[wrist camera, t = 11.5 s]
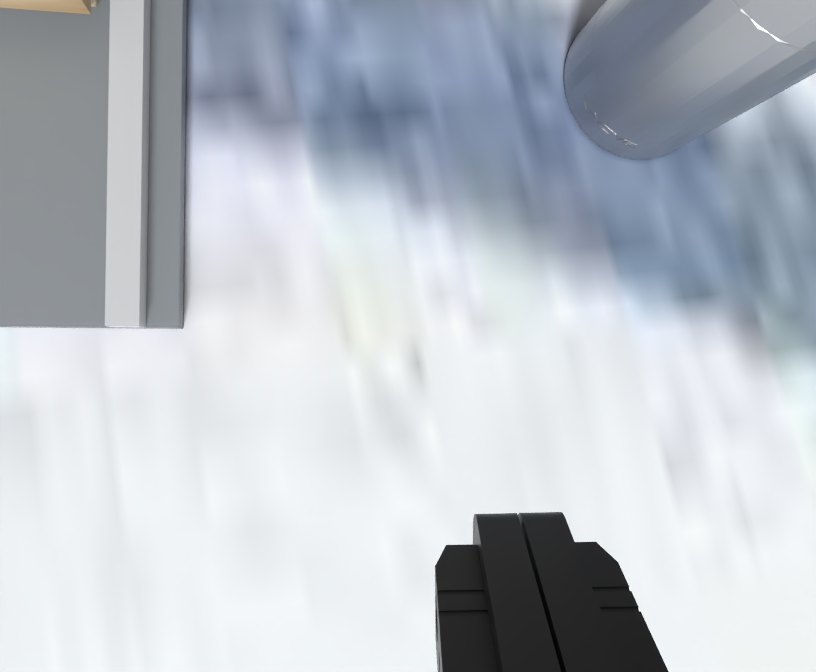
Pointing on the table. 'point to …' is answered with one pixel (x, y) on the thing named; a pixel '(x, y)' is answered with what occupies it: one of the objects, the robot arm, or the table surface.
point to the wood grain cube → (52, 5)
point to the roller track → (93, 166)
